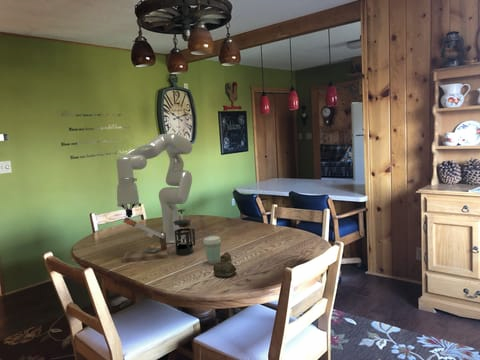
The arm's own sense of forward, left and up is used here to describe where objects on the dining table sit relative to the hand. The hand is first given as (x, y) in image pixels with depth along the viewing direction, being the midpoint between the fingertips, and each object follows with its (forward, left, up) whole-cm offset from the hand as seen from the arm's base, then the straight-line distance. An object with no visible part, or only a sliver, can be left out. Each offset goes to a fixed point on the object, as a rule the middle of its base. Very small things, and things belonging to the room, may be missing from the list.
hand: (129, 217), depth 191 cm
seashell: (-42, +38, -22) cm, 60 cm away
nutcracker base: (-7, 0, -22) cm, 22 cm away
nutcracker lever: (-6, 0, -9) cm, 11 cm away
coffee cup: (-40, +20, -22) cm, 49 cm away
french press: (-27, 0, -22) cm, 34 cm away
